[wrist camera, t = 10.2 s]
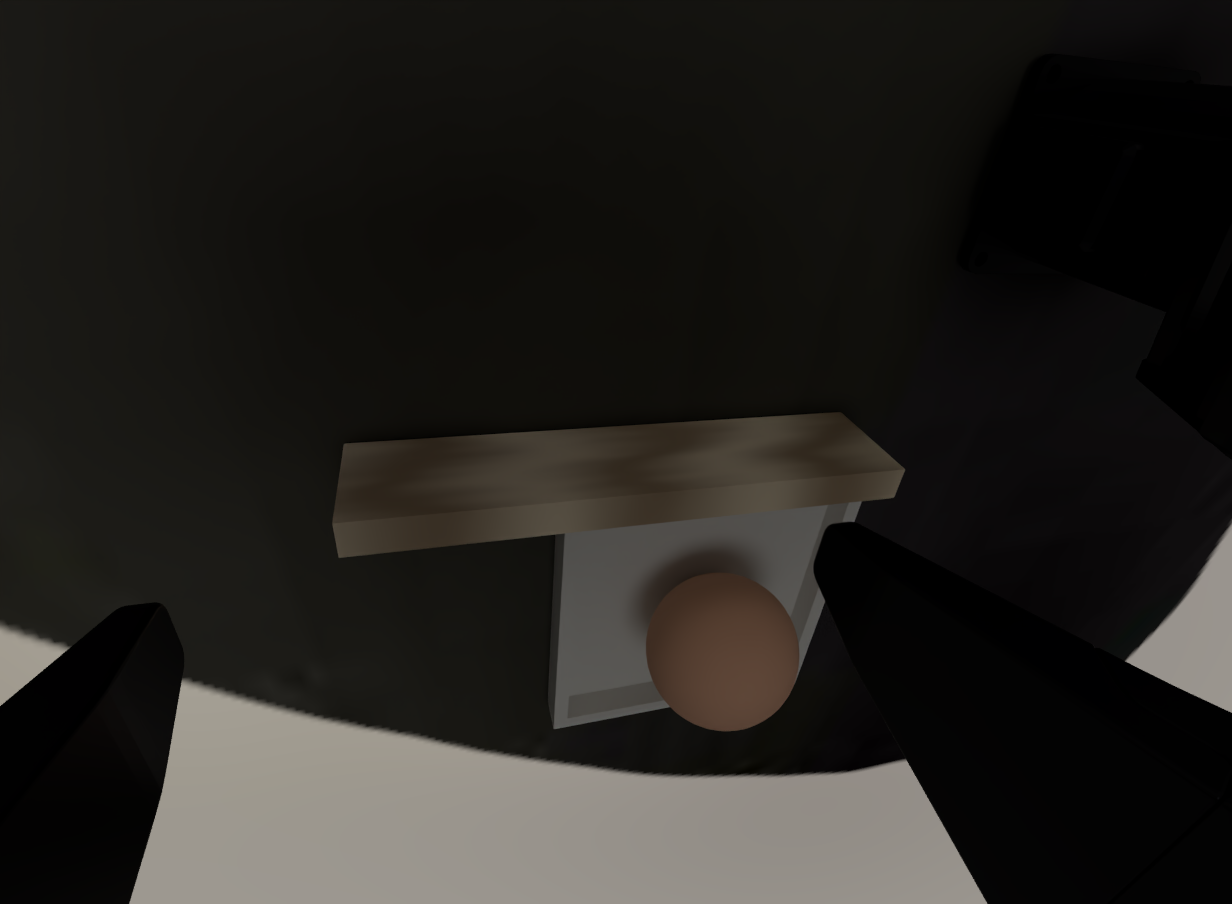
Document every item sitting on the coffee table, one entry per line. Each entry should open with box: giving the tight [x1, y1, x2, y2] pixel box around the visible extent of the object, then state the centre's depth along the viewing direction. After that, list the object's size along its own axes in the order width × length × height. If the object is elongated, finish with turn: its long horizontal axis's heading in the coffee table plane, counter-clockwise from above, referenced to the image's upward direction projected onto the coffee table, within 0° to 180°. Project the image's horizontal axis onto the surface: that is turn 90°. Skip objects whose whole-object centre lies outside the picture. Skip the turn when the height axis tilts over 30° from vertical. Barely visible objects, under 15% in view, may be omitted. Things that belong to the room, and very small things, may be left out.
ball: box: [646, 572, 800, 731], centre depth 25 cm, size 6×6×6 cm
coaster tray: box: [548, 501, 862, 729], centre depth 27 cm, size 12×12×2 cm
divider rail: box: [332, 412, 905, 558], centre depth 21 cm, size 18×1×4 cm, turn 85°
